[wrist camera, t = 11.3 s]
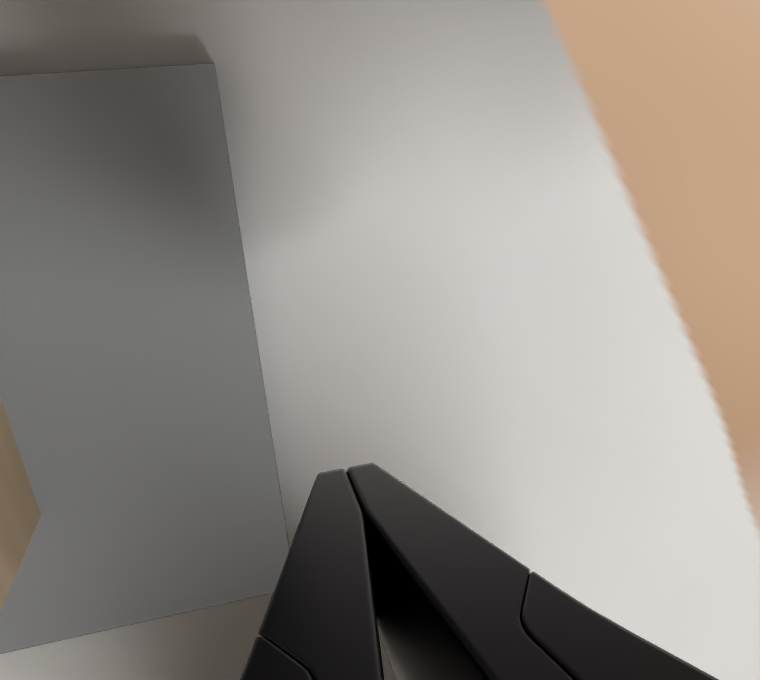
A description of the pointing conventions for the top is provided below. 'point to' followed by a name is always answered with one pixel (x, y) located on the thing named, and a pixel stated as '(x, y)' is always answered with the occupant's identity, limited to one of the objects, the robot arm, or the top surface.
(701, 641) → the top surface
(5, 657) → the top surface
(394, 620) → the robot arm
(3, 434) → the domino
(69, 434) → the mat
